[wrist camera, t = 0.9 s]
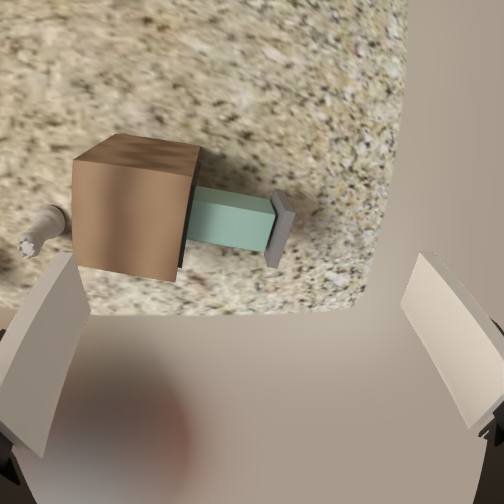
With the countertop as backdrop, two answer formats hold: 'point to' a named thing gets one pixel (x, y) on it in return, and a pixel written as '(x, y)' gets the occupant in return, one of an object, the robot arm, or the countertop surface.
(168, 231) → the sleeve block
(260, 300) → the countertop surface
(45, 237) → the rook chess piece
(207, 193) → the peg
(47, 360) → the robot arm
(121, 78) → the countertop surface
